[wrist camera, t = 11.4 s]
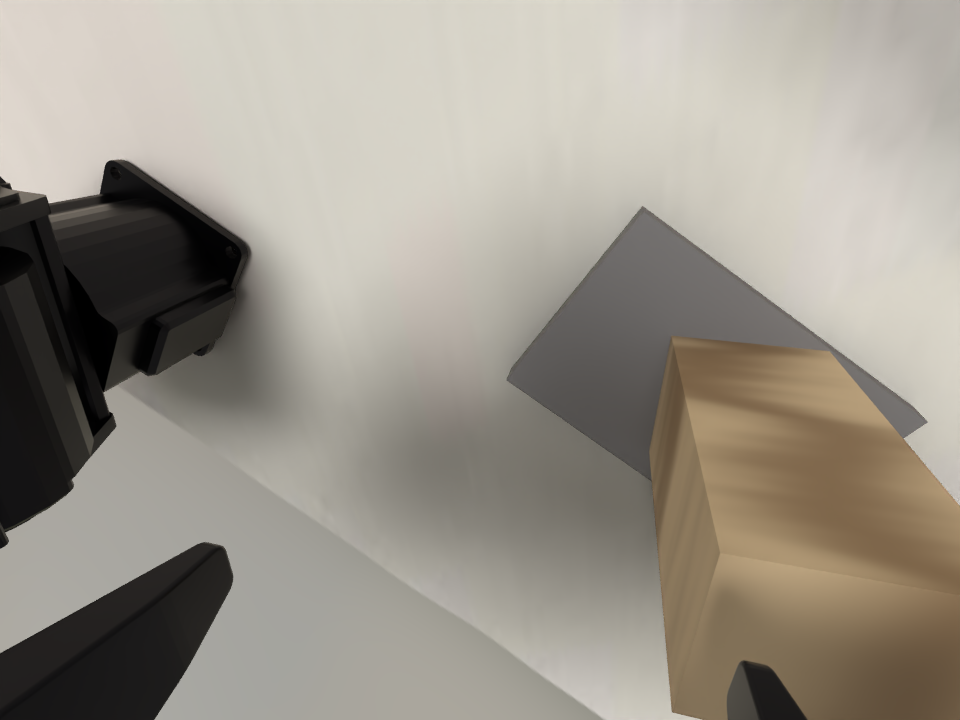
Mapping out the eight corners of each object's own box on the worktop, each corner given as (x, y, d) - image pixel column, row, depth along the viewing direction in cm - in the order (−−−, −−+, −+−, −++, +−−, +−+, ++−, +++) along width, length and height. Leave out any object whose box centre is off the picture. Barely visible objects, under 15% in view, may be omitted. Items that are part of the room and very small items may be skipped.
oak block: (649, 451, 20) (671, 712, 12) (671, 335, 18) (720, 553, 9) (787, 471, 19) (925, 773, 11) (829, 350, 17) (1048, 611, 8)
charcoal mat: (511, 368, 21) (506, 380, 20) (642, 206, 17) (643, 211, 17) (738, 527, 22) (743, 544, 21) (913, 406, 18) (927, 422, 17)
